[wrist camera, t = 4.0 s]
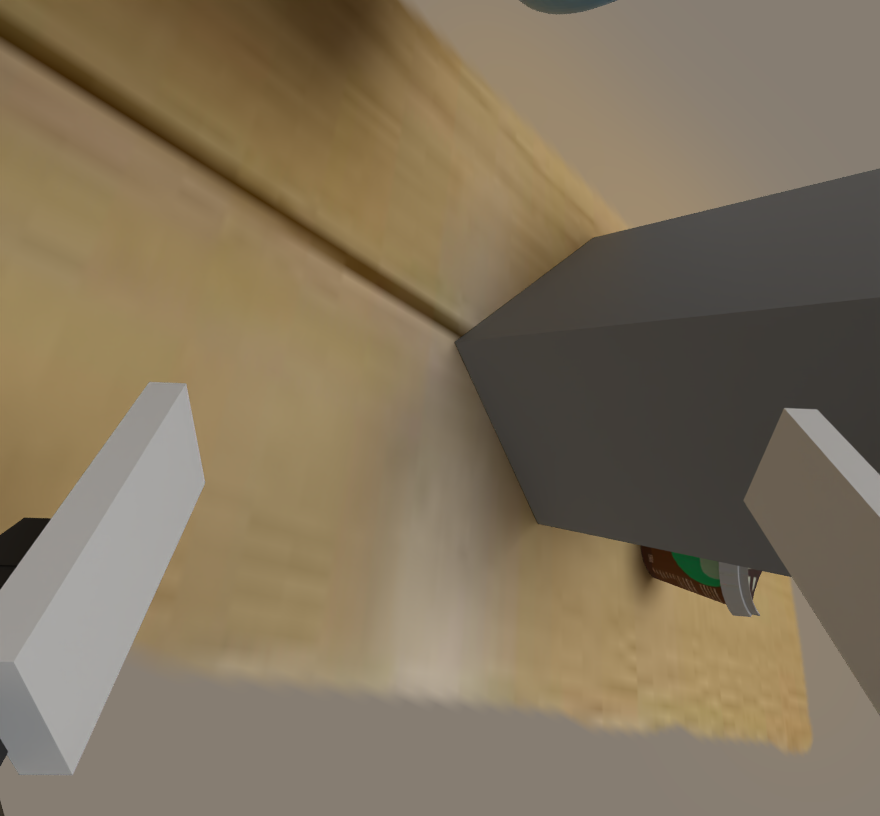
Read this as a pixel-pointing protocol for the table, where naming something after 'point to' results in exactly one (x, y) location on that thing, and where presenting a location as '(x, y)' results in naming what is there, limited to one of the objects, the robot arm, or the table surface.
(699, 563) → the food container
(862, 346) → the cabinet
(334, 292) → the table surface
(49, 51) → the table surface
